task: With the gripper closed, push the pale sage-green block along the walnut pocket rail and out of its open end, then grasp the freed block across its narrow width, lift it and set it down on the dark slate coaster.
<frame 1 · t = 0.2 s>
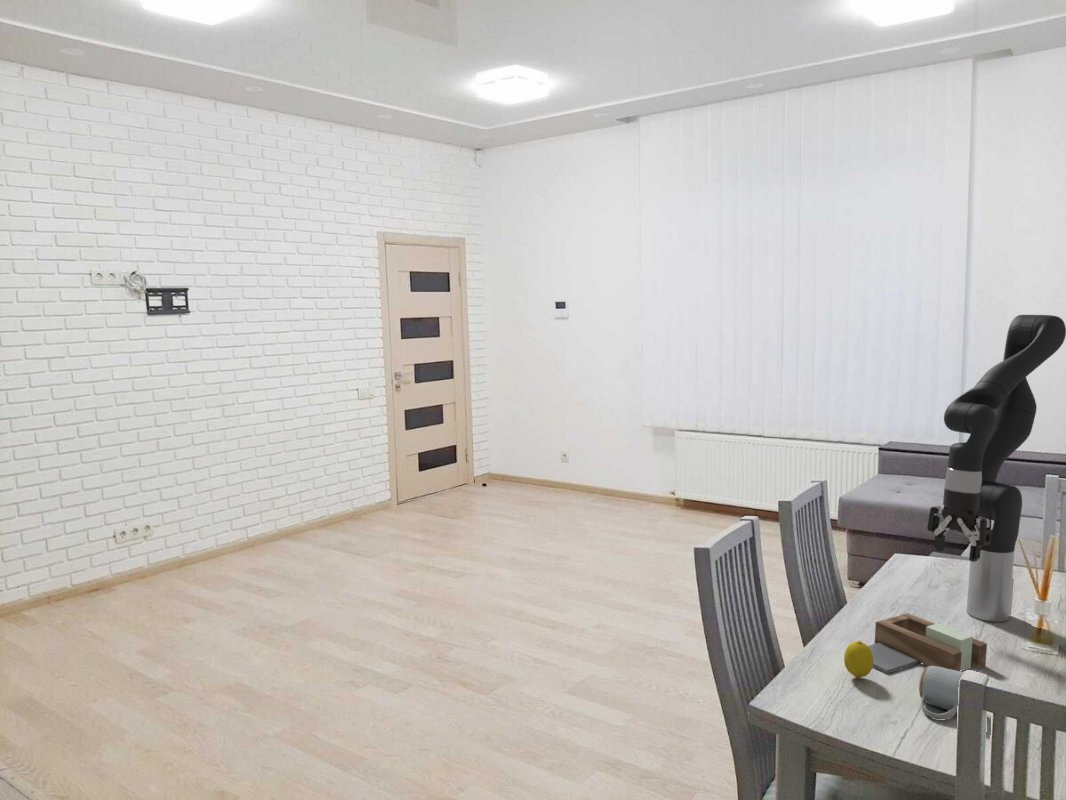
hand: (956, 555, 190), 17 cm above the table, tool pointing down, fingers open, 8 cm apart
slate coaster: (882, 659, 174), on the table
pocket rail: (928, 654, 177), on the table
ceramic mug: (944, 711, 153), on the table
lemon: (857, 679, 166), on the table
sage block: (947, 662, 173), resting in pocket rail
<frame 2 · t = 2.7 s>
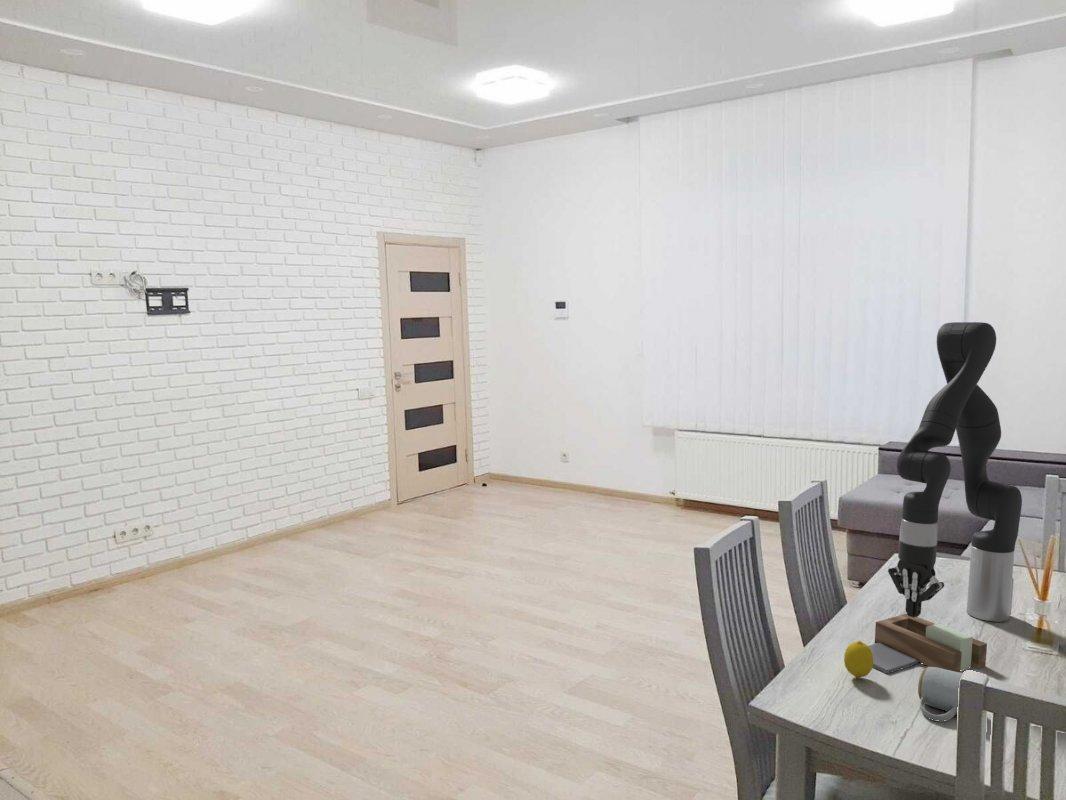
hand: (912, 615, 179), 7 cm above the table, tool pointing down, fingers closed
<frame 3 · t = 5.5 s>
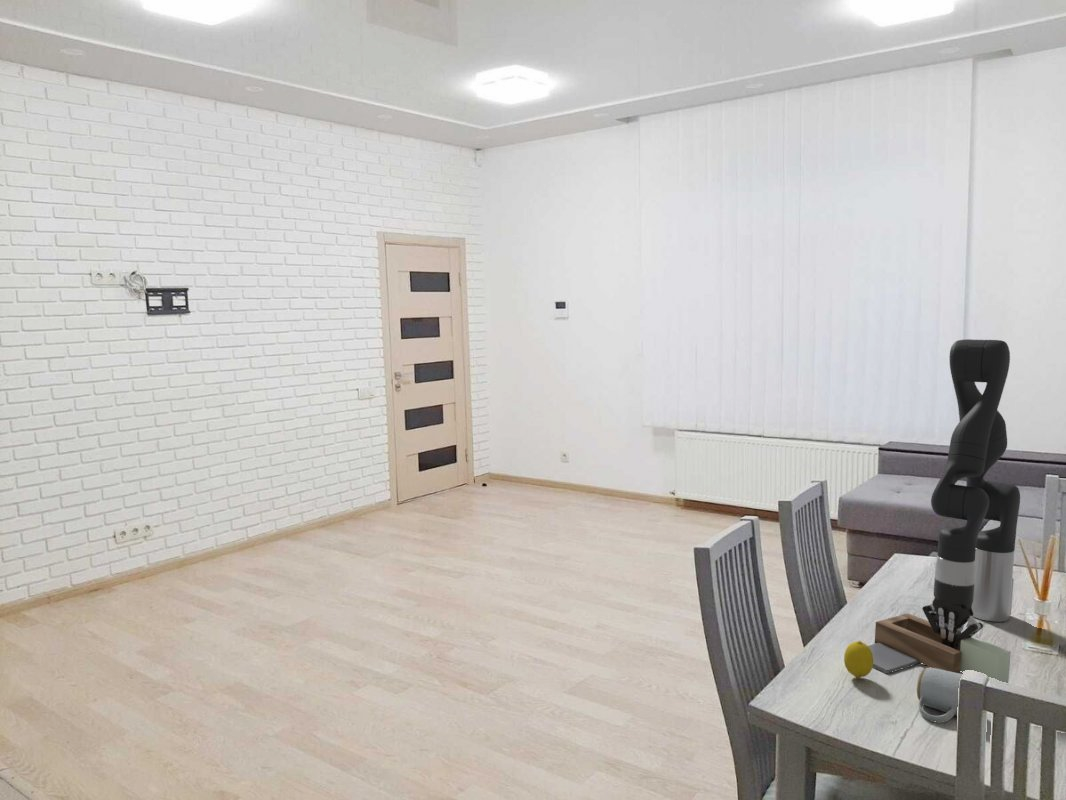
hand: (949, 656, 172), 2 cm above the table, tool pointing down, fingers closed
sage block: (983, 678, 166), on the table, touching hand
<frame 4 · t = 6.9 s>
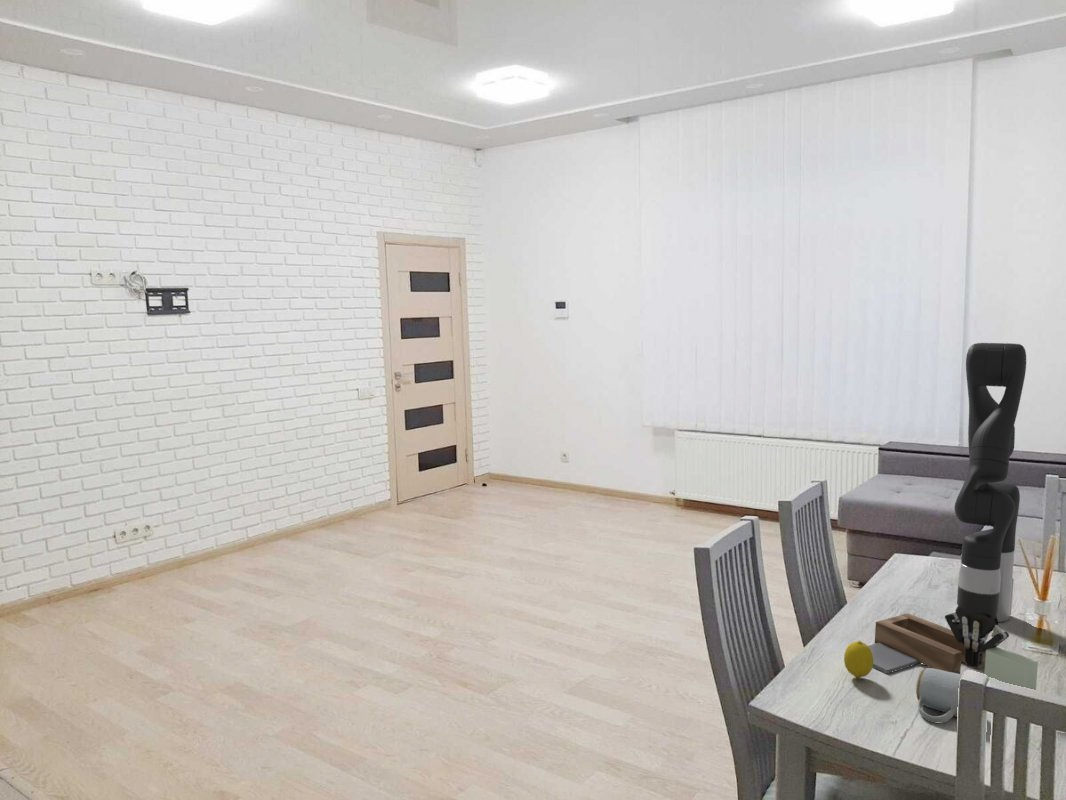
hand: (972, 666, 168), 2 cm above the table, tool pointing down, fingers closed
sage block: (1009, 689, 161), on the table, touching hand
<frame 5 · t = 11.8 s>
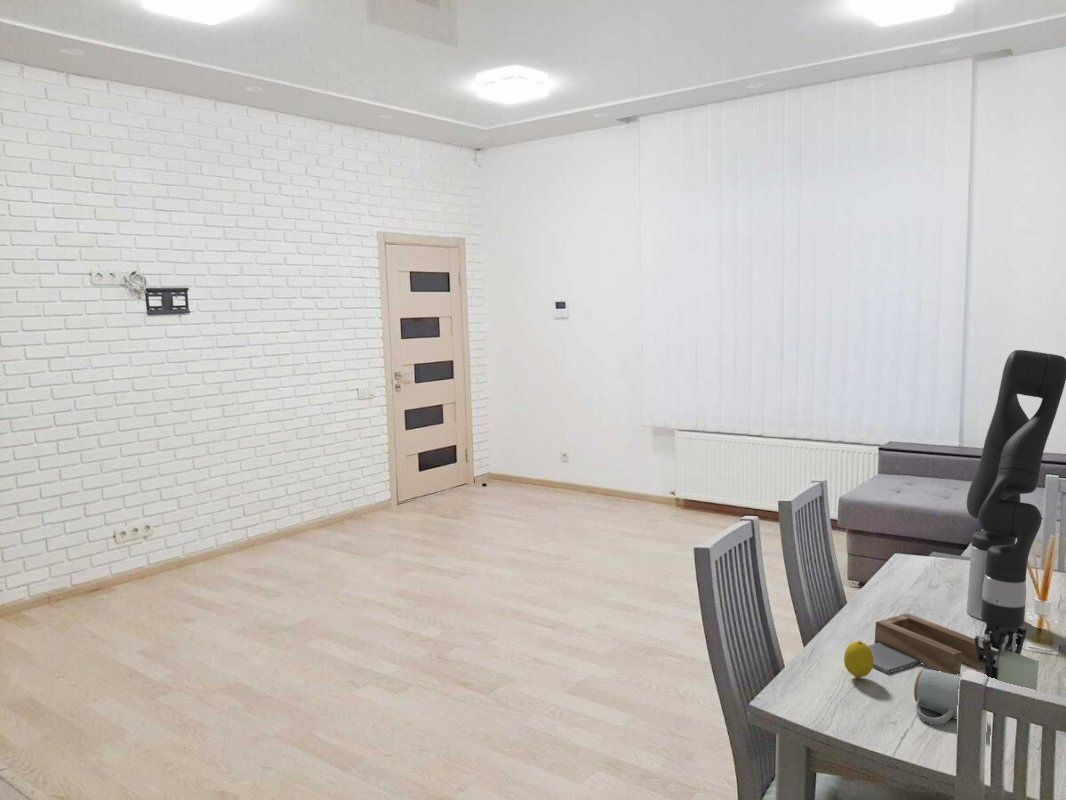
hand: (997, 679, 163), 1 cm above the table, tool pointing down, fingers closed on sage block, 4 cm apart
sage block: (1009, 689, 161), on the table, touching gripper
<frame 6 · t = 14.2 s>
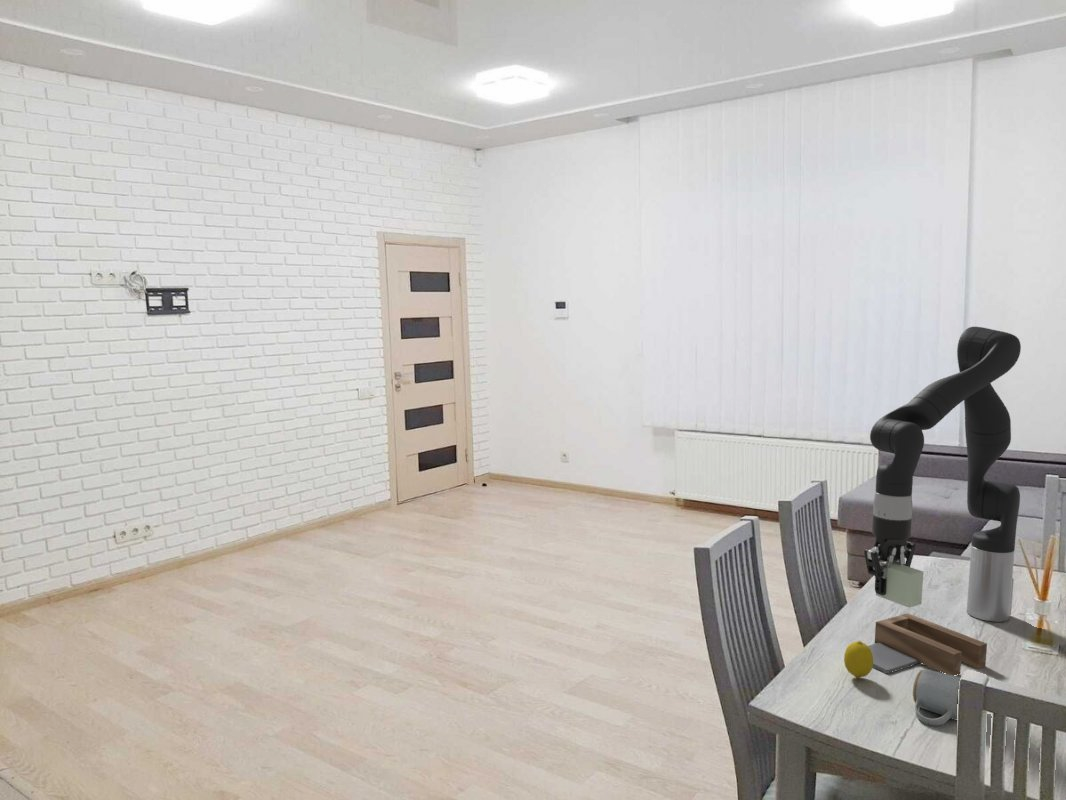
hand: (887, 591, 172), 15 cm above the table, tool pointing down, fingers closed on sage block, 4 cm apart
sage block: (898, 599, 170), point 14 cm above the table, touching gripper
when the fingers open (3 cm above the table, at t = 16.8 s): sage block drops 2 cm, resting on slate coaster.
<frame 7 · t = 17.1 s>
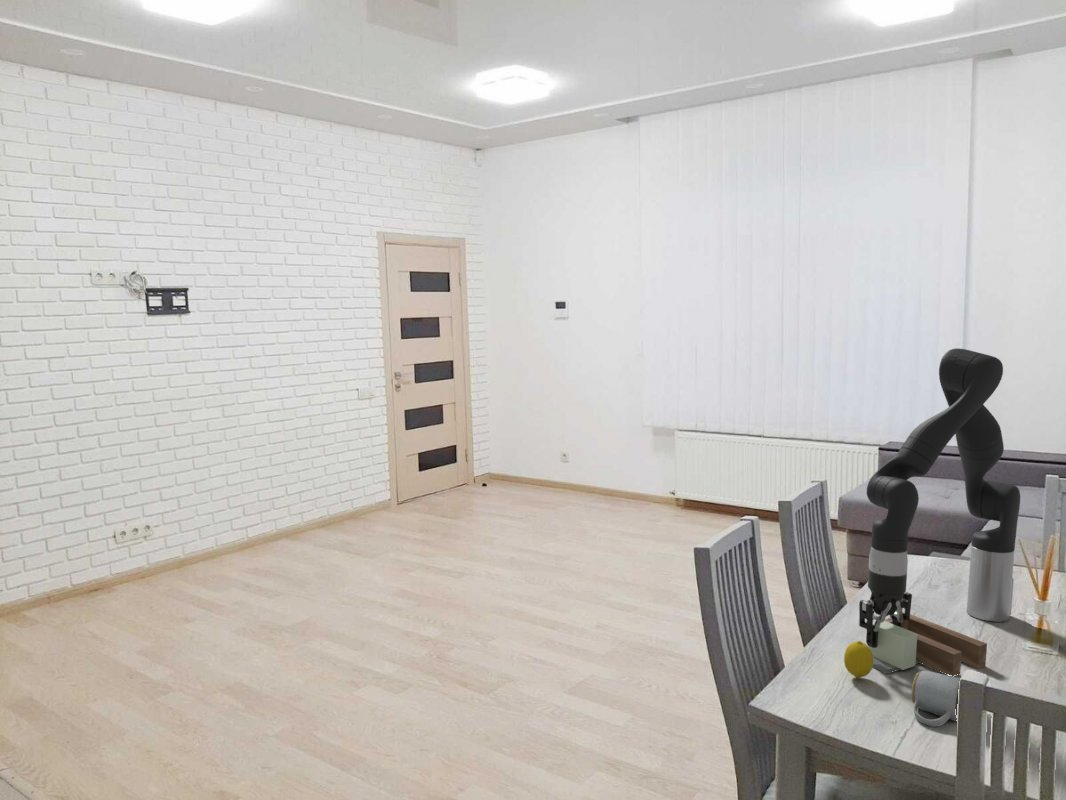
hand: (883, 642, 174), 4 cm above the table, tool pointing down, fingers open, 6 cm apart
sage block: (892, 660, 172), point 1 cm above the table, touching slate coaster
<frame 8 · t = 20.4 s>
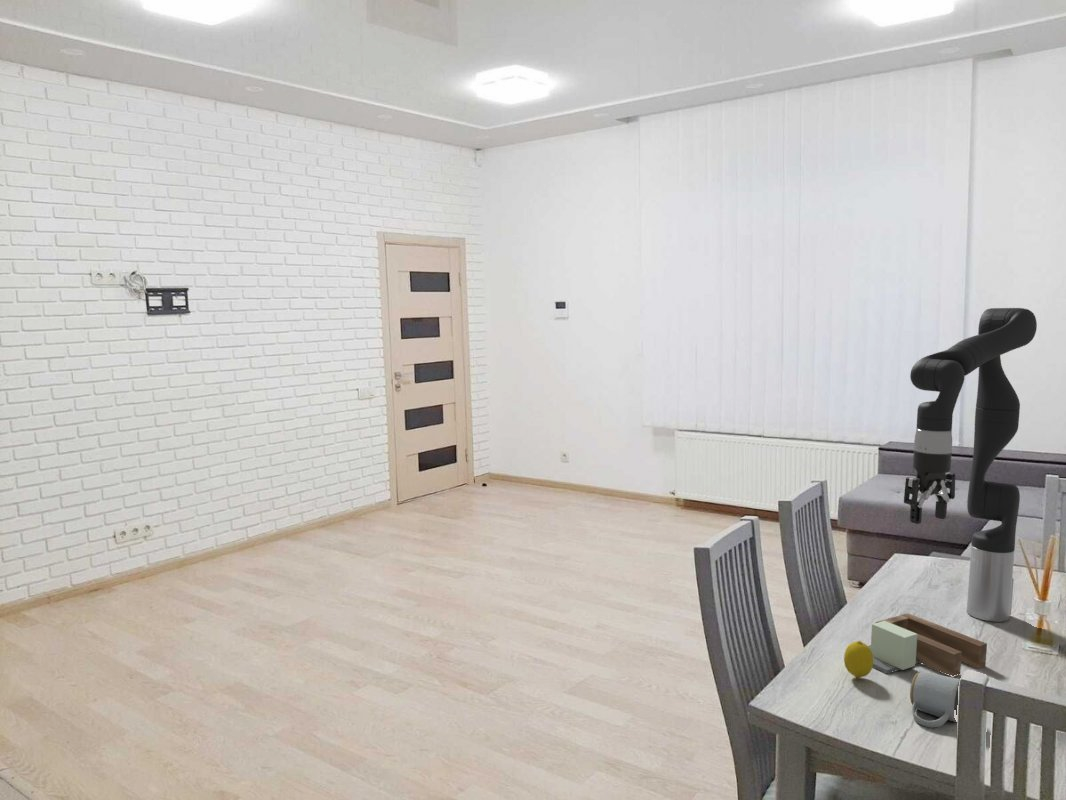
hand: (928, 520, 181), 28 cm above the table, tool pointing down, fingers open, 8 cm apart
at the end: sage block inside the target area on the slate coaster (2.5 cm from its centre), point 0.8 cm above the slate coaster's base; sage block tilted 0°; the gripper is holding nothing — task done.
